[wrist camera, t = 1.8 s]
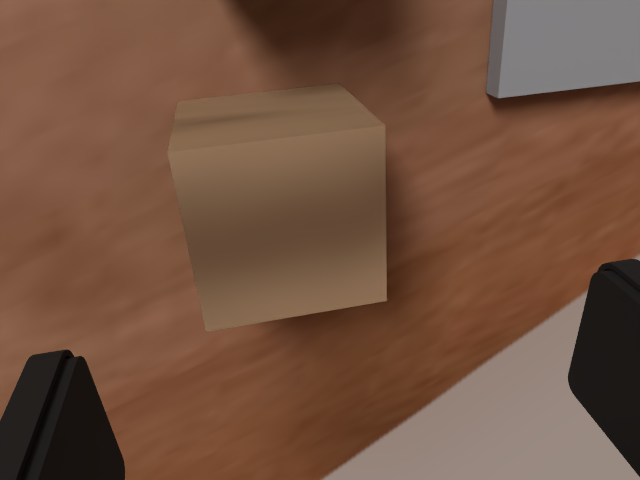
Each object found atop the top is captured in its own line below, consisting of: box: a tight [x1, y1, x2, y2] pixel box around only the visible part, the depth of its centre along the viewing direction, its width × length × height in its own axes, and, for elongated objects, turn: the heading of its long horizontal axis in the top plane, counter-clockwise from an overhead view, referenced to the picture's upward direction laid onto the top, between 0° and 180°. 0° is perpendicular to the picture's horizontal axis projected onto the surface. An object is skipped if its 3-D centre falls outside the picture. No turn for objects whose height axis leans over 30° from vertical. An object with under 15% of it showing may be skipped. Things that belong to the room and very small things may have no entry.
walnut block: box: [167, 83, 387, 332], centre depth 18 cm, size 6×6×6 cm
